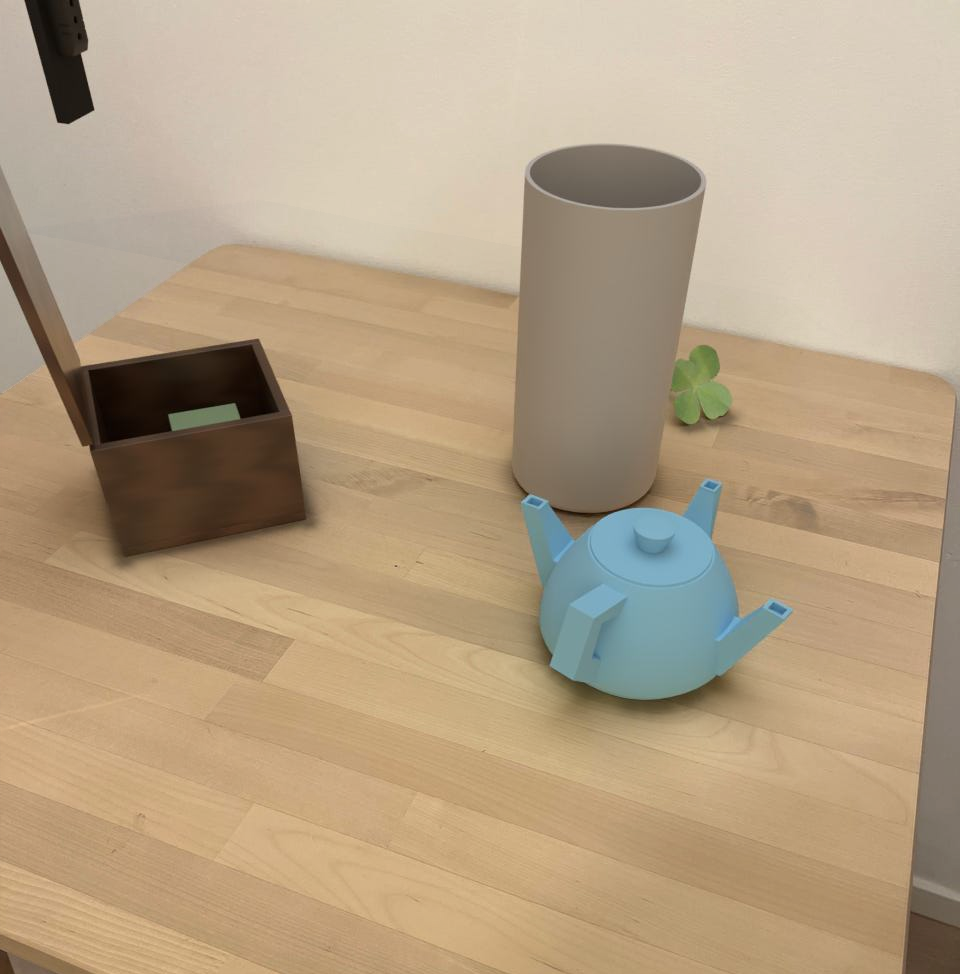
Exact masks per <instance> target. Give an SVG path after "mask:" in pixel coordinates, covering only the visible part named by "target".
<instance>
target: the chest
mask: <svg viewBox="0 0 960 974" xmlns="http://www.w3.org/2000/svg"><path fill="white" fill-rule="evenodd" d="M81 369H82V375H83V381H84V388H85V394H86V400H87V406H88V413H89V419H90V425H91V431H92V438H93V444H92V445H89V452H90V453H89V454H90V456H91V460H92V462H93V465H94V468H95V473H96V475H97V477H98V481H99V485H100V487H101V490H102V494H103V497H104V500H105V503H106V506H107V509H108V513H109V515H110V518H111V522H112V525H113V527H114V531H115V534H116V537H117V540H118V543H119V546H120V550H121V552H122V556H123V557H129V556H134V555H139V554H144V553H148V552H152V551H157V550H162V549H167V548H172V547H178V546H182V545H186V544H191V543H196V542H201V541H206V540H210V539H211V540H212V539H215V538H220V537H225V536H231V535H234V534H235V535H236V534H240V533H244V532H249V531H254V530H259V529H263V528H268V527H273V526H279V525H282V524H287V523H292V522H296V521H303V520H305V519H307V513H306V506H305V505H306V504H305V498H304V490H303V483H302V476H301V469H300V462H299V455H298V448H297V441H296V433H295V426H294V419H293V414H292V412H291V410H290V407H289V404H288V403H287V400H286V398H285V395H284V393H283V391H282V389H281V386H280V384H279V381H278V379H277V377H276V376H275V373H274V370H273V368H272V365H271V363H270V361H269V359H268V357H267V354H266V352H265V349H264V346H263V344H262V342H261V339H260V338H254V339H253V338H251V339H247V340H246V339H245V340H240V341H233V342H227V343H221V344H220V343H219V344H215V345H208V346H201V347H194V348H189V349H182V350H176V351H169V352H164V353H163V352H162V353H157V354H156V353H155V354H151V355H144V356H138V357H132V358H125V359H119V360H118V359H117V360H112V361H107V362H106V361H105V362H100V363H94V364H86V365H81ZM233 403H235V404H236V407H237V409H238V412H239V415H240V418H241V419H237V420H232V421H226V422H220V423H215V424H209V425H204V426H198V427H192V428H187V429H181V430H175V431H172V430H171V426H170V421H169V417H168V415H169V414H174V413H180V412H186V411H191V410H197V409H203V408H209V407H215V406H221V405H227V404H233Z"/></svg>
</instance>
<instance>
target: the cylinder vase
mask: <svg viewBox="0 0 960 974" xmlns="http://www.w3.org/2000/svg"><path fill="white" fill-rule="evenodd" d="M706 189H707V177H706V175H705V173H704V171H702V169H700V167H698V166H697V165H696V164H695V163H693V162H691V161H689V160H688V159H686V158H683V157H681V156H679V155H676V154H673V153H670V152H667V151H664V150H660V149H656V148H652V147H647V146H641V145H634V144H633V145H632V144H626V143H625V144H623V143H583V144H573V145H567V146H563V147H558V148H554V149H551V150H548V151H544V152H543V153H540V154H539V155H536V156H535V157H533V158H532V159H531V160H530V161H529V162H528V163H527V164H526V167H525V169H524V184H523V204H522V205H523V209H522V228H521V250H520V251H521V252H520V271H519V272H520V273H519V292H518V293H519V295H518V297H519V299H518V314H517V316H518V317H517V338H516V340H517V342H516V359H515V360H516V362H515V381H514V382H515V385H514V403H513V404H514V406H513V407H514V408H513V426H512V427H513V428H512V429H513V430H512V432H513V433H512V447H511V448H512V449H511V451H512V452H511V468H512V473H513V476H514V479H515V480H516V481H517V483H518V484H519V486H520V487H521V488H522V489H523V490H524V491H525V492H526V493H527V494H528V495H529V494H531V495H534V496H537V497H539V498H542V499H545V500H547V501H549V505H550V507H551V508H555V509H558V510H562V511H567V512H571V513H572V512H573V513H581V514H599V513H606V512H607V513H608V512H613V511H617V510H620V509H623V508H626V507H628V506H630V505H632V504H634V503H635V502H638V501H639V500H640V499H642V497H644V496H645V495H646V494H647V493H648V492H649V491H650V489H651V488H652V486H653V484H654V482H655V479H656V475H657V469H658V463H659V458H660V454H661V453H660V452H661V446H662V440H663V435H664V430H665V423H666V417H667V411H668V406H669V400H670V396H671V391H670V390H671V384H672V378H673V372H674V367H675V362H676V361H677V354H678V348H679V343H680V336H681V331H682V325H683V319H684V316H685V315H684V314H685V308H686V302H687V297H688V296H687V295H688V291H689V285H690V280H691V274H692V269H693V264H694V257H695V252H696V247H697V240H698V239H697V238H698V233H699V228H700V221H701V216H702V210H703V205H704V199H705V194H706V193H705V192H706Z"/></svg>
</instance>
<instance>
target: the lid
mask: <svg viewBox="0 0 960 974" xmlns="http://www.w3.org/2000/svg"><path fill="white" fill-rule="evenodd" d="M38 256H39V255H38V254H37V252H36V249H35V246H34V244H33V242H32V240H31V236H30V234H29V233H28V229H27V227H26V225H25V223H24V220H23V217H22V214H21V213H20V211H19V208H18V206H17V203H16V201H15V198H14V196H13V193H12V191H11V188H10V186H9V184H8V181H7V179H6V176H5V173H4V172H3V169H2V166H1V165H0V264H1V266H2V269H3V271H4V273H5V274H6V277H7V279H8V282H9V284H10V286H11V289H12V291H13V293H14V296H15V298H16V300H17V302H18V304H19V307H20V310H21V311H22V313H23V315H24V318H25V321H26V323H27V325H28V328H29V330H30V332H31V334H32V337H33V338H34V341H35V343H36V345H37V348H38V350H39V352H40V354H41V357H42V359H43V361H44V364H45V365H46V369H47V371H48V373H49V375H50V377H51V379H52V381H53V384H54V386H55V388H56V390H57V393H58V396H59V397H60V399H61V402H62V404H63V407H64V409H65V411H66V413H67V415H68V417H69V419H70V422H71V425H72V427H73V429H74V431H75V434H76V436H77V439H78V440H79V443H80V445H81V446H82V447H83V448H85V447H87V446H89V445H92V444H93V438H92V431H91V425H90V419H89V413H88V406H87V400H86V394H85V388H84V381H83V375H82V369H81V366H82V363H81V359H80V356H79V353H78V350H77V349H76V346H75V343H74V341H73V339H72V337H71V335H70V332H69V329H68V327H67V325H66V322H65V320H64V319H65V318H64V317H63V315H62V312H61V310H60V308H59V304H58V302H57V300H56V298H55V295H54V293H53V290H52V288H51V286H50V285H51V284H50V283H49V281H48V278H47V276H46V273H45V271H44V269H43V265H42V264H41V262H40V259H39V257H38Z"/></svg>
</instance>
